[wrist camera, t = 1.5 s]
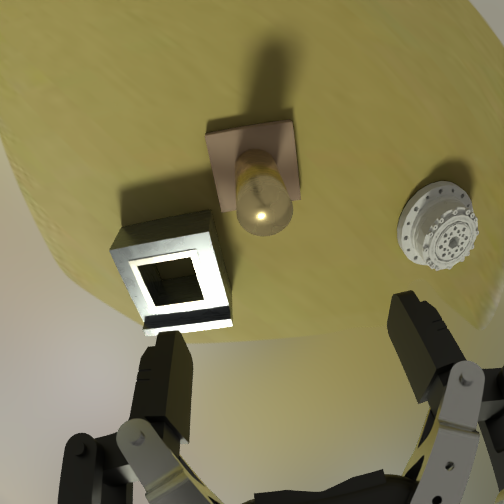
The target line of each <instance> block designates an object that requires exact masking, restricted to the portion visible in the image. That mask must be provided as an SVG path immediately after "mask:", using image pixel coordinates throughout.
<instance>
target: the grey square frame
mask: <svg viewBox="0 0 504 504" xmlns="http://www.w3.org/2000/svg"><path fill="white" fill-rule="evenodd" d="M109 251H110V253H111V256H112V258H113V260H114V262H115V264H116V267H117V269H118V271H119V273H120V275H121V277H122V279H123V281H124V283H125V286H126V288H127V290H128V292H129V294H130V296H131V298H132V300H133V302H134V304H135V306H136V308H137V310H138V311H139V313H140V315H141V317H142V319H143V321H144V326H143V331H144V333H145V335H146V336H155V335H158V333H159V332H163V331H172V330H179V331H180V332H181V333H183V332H191V331H199V330H207V329H215V328H223V327H230V326H233V317H232V291H231V287H230V283H229V279H228V275H227V271H226V267H225V264H224V260H223V256H222V252H221V248H220V244H219V240H218V236H217V232H216V228H215V224H214V219H213V215H212V211H211V210H205V211H200V212H194V213H189V214H184V215H179V216H174V217H169V218H164V219H159V220H154V221H149V222H144V223H139V224H134V225H130V226H125V227H121V229H120V231H119V233H118V235H117V236H116V238H115V240H114V242H113V244H112V246H111V248H110V250H109ZM187 257H191V259H192V262H193V265H194V268H195V271H196V274H197V275H193V276H187V277H180V278H174V279H167V280H161V278H160V275H159V273H158V270H157V268H156V265H155V263H157V262H163V261H169V260H175V259H181V258H187Z"/></svg>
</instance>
